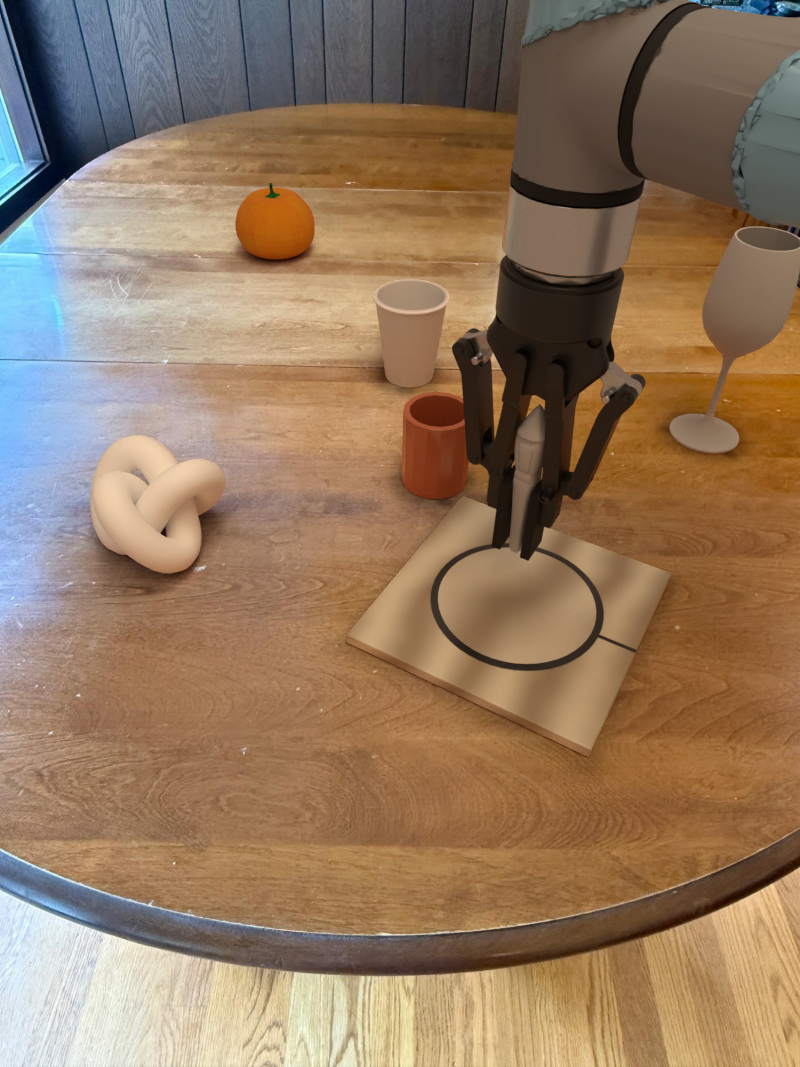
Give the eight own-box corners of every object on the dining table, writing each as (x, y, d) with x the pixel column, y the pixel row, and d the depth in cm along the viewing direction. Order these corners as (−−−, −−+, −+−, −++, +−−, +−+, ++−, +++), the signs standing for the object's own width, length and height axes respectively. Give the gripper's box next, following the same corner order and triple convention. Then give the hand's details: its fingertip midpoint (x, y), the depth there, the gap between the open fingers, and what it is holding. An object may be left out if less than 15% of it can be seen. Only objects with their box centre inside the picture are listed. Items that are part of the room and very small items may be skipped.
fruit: (322, 263, 114) (318, 193, 108) (242, 270, 112) (233, 199, 106) (310, 233, 123) (305, 167, 116) (235, 239, 121) (226, 172, 114)
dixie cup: (455, 366, 93) (460, 286, 86) (428, 400, 87) (432, 318, 80) (391, 351, 95) (392, 272, 89) (361, 383, 90) (360, 302, 83)
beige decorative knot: (205, 483, 75) (190, 404, 69) (257, 555, 68) (245, 474, 62) (88, 523, 71) (61, 442, 65) (131, 605, 63) (104, 523, 57)
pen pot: (477, 472, 77) (484, 404, 72) (448, 507, 73) (453, 437, 68) (421, 452, 80) (424, 385, 74) (390, 485, 76) (390, 416, 70)
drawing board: (669, 581, 66) (672, 571, 66) (588, 758, 54) (591, 749, 53) (461, 503, 74) (462, 494, 73) (346, 642, 61) (346, 633, 60)
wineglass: (655, 435, 83) (710, 239, 69) (685, 406, 87) (744, 216, 73) (723, 463, 79) (796, 263, 65) (751, 431, 84) (826, 237, 69)
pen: (537, 549, 63) (565, 403, 54) (519, 566, 62) (544, 419, 52) (512, 535, 64) (535, 390, 55) (493, 552, 63) (513, 405, 54)
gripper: (701, 265, 47) (619, 549, 62) (479, 215, 52) (456, 488, 68) (666, 313, 42) (587, 608, 58) (426, 253, 47) (414, 538, 63)
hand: (516, 543), depth 63 cm, fingers closed on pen, 2 cm apart
